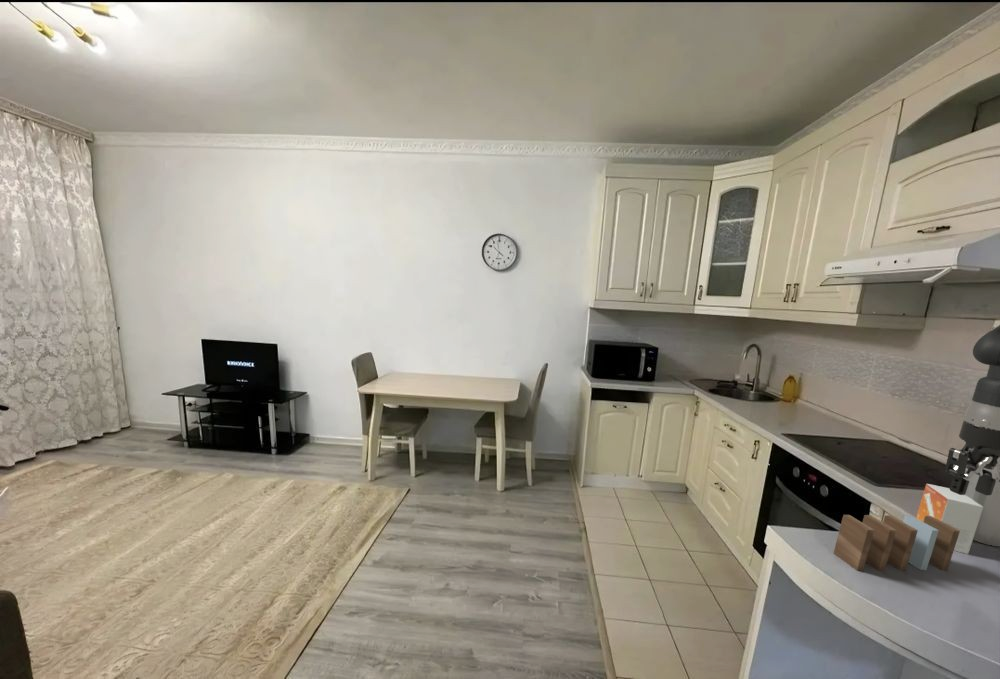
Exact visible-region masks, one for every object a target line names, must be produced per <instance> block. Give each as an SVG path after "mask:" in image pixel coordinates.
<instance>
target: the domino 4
mask: <svg viewBox="0 0 1000 679" xmlns="http://www.w3.org/2000/svg"><path fill="white" fill-rule="evenodd" d="M902 522H904V523H905V524H907V525H909V526H911V527H913V528H915V529H916V530H918V532H917V535H916V538H915V542H914V545H913V548H912V552H911V555H910V558H909V562H908V564H910V565H912V566H914V567H915V568H916V569H918V570H919V571H927V569H928V566H929V564H930V563H929V560H930V557H931V554H932V550H933V547H934V544H935V541H936V538H937V534H938V531H939V530H937V529H935V528H933V527H931V526H929V525H928V524H926V523H924V522H922V521H920V520H918V519H916V517H914V516H912V515H904V518H903V521H902Z"/></svg>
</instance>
